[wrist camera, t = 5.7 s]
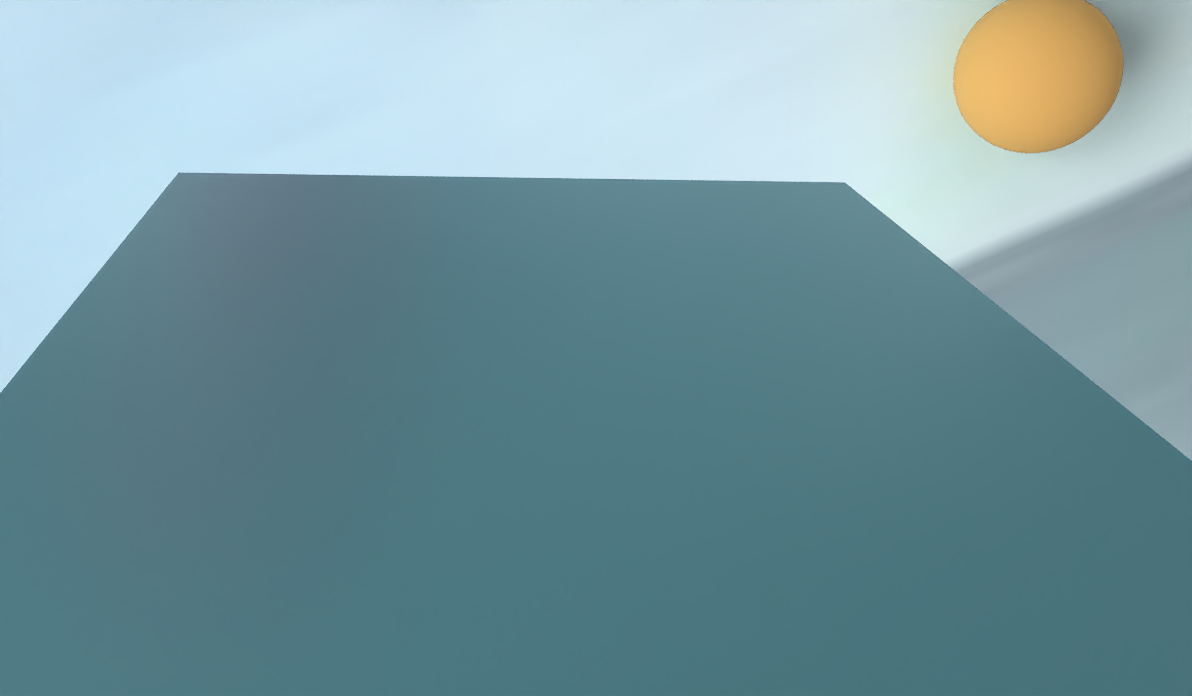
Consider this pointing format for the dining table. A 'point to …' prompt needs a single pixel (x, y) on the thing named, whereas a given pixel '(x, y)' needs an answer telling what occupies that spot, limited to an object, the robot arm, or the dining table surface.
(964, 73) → the ball
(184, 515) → the teal square block
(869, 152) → the dining table surface
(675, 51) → the dining table surface
